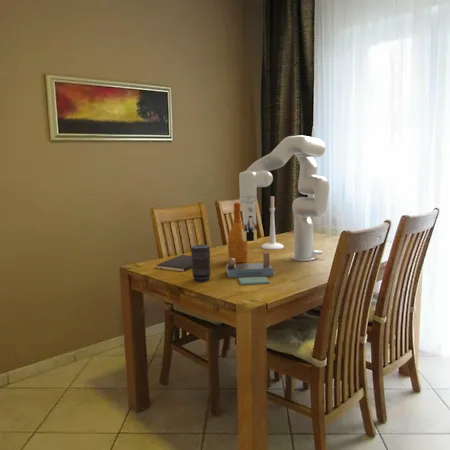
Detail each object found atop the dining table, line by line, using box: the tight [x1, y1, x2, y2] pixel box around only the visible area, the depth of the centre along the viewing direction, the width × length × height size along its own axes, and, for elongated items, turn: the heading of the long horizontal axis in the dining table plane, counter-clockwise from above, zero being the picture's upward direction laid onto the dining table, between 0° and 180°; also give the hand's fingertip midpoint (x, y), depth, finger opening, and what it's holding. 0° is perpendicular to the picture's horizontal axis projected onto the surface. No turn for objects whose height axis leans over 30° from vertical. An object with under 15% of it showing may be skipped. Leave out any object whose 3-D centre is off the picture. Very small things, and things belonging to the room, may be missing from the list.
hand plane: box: [225, 251, 274, 279], centre depth 202 cm, size 20×10×10 cm, turn 96°
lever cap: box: [242, 227, 258, 242], centre depth 200 cm, size 6×5×5 cm
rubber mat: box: [237, 276, 270, 286], centre depth 190 cm, size 12×8×1 cm, turn 96°
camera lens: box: [190, 244, 211, 283], centre depth 193 cm, size 8×8×15 cm
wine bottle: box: [227, 202, 249, 264], centre depth 223 cm, size 10×10×30 cm
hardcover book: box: [156, 254, 192, 272], centre depth 222 cm, size 16×23×2 cm
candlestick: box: [261, 195, 284, 251], centre depth 255 cm, size 13×13×30 cm
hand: (249, 239), depth 200 cm, fingers closed on lever cap, 5 cm apart
